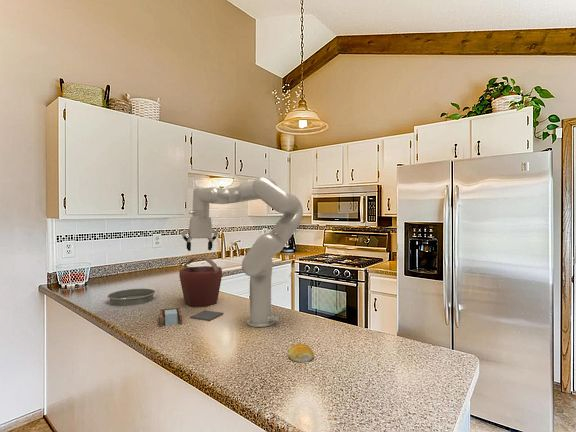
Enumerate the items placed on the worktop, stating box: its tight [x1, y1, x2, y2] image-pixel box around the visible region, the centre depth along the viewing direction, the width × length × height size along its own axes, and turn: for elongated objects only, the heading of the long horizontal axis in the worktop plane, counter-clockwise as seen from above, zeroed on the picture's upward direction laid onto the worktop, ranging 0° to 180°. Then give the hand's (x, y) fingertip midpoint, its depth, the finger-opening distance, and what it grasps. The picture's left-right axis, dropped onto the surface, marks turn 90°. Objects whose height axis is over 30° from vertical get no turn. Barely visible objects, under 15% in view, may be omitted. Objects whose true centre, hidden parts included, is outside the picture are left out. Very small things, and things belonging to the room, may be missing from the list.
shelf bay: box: [159, 307, 183, 328], centre depth 149 cm, size 15×9×4 cm, turn 22°
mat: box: [189, 309, 224, 322], centre depth 156 cm, size 11×11×1 cm
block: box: [164, 309, 178, 327], centre depth 146 cm, size 7×5×5 cm
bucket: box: [178, 256, 223, 308], centre depth 180 cm, size 24×22×25 cm
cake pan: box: [106, 288, 156, 307], centre depth 185 cm, size 25×25×4 cm
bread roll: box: [288, 343, 315, 363], centre depth 111 cm, size 8×9×4 cm
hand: (199, 250), depth 155 cm, fingers open, 9 cm apart
